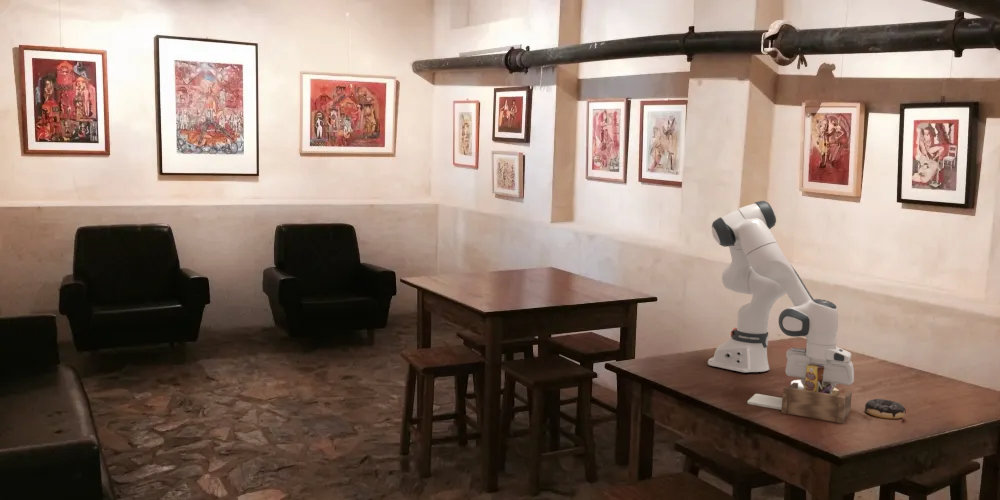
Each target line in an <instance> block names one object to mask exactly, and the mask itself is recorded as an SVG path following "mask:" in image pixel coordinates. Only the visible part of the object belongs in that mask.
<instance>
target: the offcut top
mask: <svg viewBox="0 0 1000 500" xmlns="http://www.w3.org/2000/svg"><path fill="white" fill-rule="evenodd" d="M832 394H833V395H839V396H840V390H839V389H838V388H836V387H835V388H834V389H833V390H832Z"/></svg>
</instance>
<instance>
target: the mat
mask: <svg viewBox="0 0 1000 500" xmlns="http://www.w3.org/2000/svg"><path fill="white" fill-rule="evenodd" d="M746 404H747V405H750V406H751V405H752V406H758V407H763V408H770V409H774V410H775V409H776V410H780V411H781V410H782V397H778V396H771V395H766V394H762V393H761V394H760V393H755V394H754V395H753V396H751V397H750V398H749V399H748V400H747V402H746Z"/></svg>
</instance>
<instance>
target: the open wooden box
mask: <svg viewBox="0 0 1000 500" xmlns="http://www.w3.org/2000/svg"><path fill="white" fill-rule="evenodd" d="M782 391H783V392H782V397H781V398H782V410H780V411H781V412H780V413H781V414H785V415H787V414H788V415H795V416H799V417H805V418H812V419H816V420H823V421H829V422H834V423H835V422H836V423H837V424H840V425H843V424H844V422H845V421H846V419H847V417H848V415H849V413H850V411H851V409H852V408H851V406H852V395H853V392H852V391H849V390H846V391H845V393H844V395H840V394H839V395H833V394H827V393H820V392H814V391H808V390H802V389H798V383H793V384H792V385H791V384H790V386H789V387H788V386H783V389H782Z"/></svg>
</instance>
